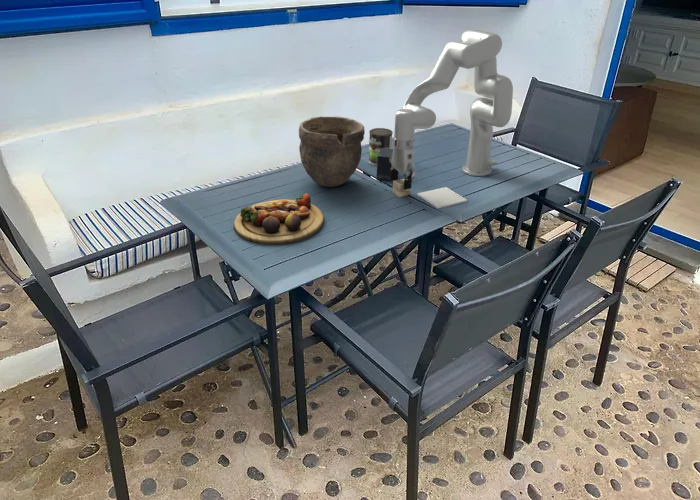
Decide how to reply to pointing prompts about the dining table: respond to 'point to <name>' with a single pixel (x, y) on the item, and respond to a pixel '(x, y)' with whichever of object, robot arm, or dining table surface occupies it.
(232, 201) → the dining table surface
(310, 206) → the wooden plate with food
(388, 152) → the small box
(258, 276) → the dining table surface
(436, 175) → the dining table surface
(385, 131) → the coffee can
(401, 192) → the maple cube
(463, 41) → the robot arm
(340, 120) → the clay pot
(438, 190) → the off-white board
